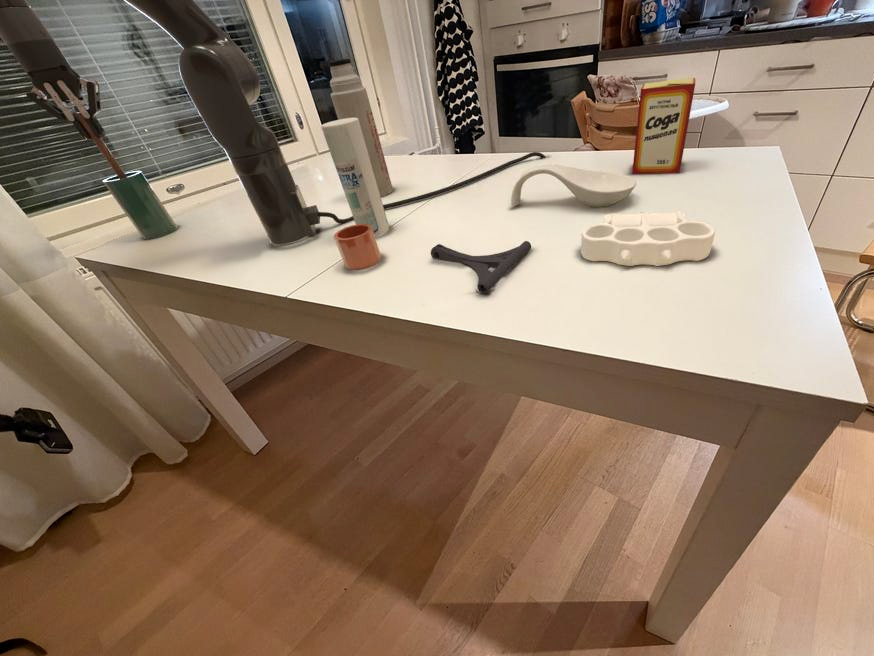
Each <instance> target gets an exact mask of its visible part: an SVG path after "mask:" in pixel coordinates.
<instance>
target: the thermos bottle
mask: <svg viewBox="0 0 874 656" xmlns="http://www.w3.org/2000/svg"><path fill="white" fill-rule="evenodd" d="M327 66H328V68H330V74H331V79H330V81H329V84H330V85H329V87H330V88H331V90H332V92H331V93H330V98H331V101H332V104H333V107H334V111H335V113H336V117H337V120H340V119H346V118H358V120H359V123H360V126H361V130H362V133H363V137H364V140H365V144H366V147H367V151H368V154H369V158H370V161H371V165H372V168H373V172H374V175H375V179H376V183H377V186H378V190H379V193H380V197H381V198H382V197H384V196H388V195H390V194H391V193H392V192H393V191H394V189H393V184H392V181H391V177H390V173H389V171H388V166H387V162H386V158H385V154H384V151H383V147H382V142H381V140H380V136H379V133H378V129H377V125H376V121H375V118H374V114H373V110H372V106H371V102H370V98H369V96H368V95H369V94H368V91H367V88H366V87H364V86H363V85H362V80H361V78H360V76H359V75H358V74H356V73H355V71H354V67H353V66H352V61H351V58H340V59H339V58H338V59H335V60H331V61H328V62H327Z"/></svg>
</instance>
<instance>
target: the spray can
mask: <svg viewBox="0 0 874 656" xmlns="http://www.w3.org/2000/svg"><path fill="white" fill-rule="evenodd" d="M320 127H321V130H322V133H323V136H324V139H325V142H326V145H327V147H328V150H329V153H330V156H331V159H332V161H333V164H334V167H335V170H336V173H337V176H338V178H339V182H340V184H341V187H342V191H343V192H344V196H345V199H346V201H347V204H348V207H349V209H350V212H351V214H352V216H353V218H354V220H353V221H354V223H355V224H354V225H356V224H368V225H371V226H372V229H373V232H374V235H375V237H376V236H379V235H382V234H384V233H386V232H388V230H389V229H390V225H389V222H388V218H387V214H386V211H385V209H384V207H383V205H384V203H383V200H382V197H380V193H379V190H378V186H377V183H376V179H375V175H374V172H373V168H372V165H371V161H370V158H369V154H368V151H367V147H366V144H365V140H364V137H363V133H362V130H361V126H360V123H359V120H358V118H346V119H340V120H338V119H336V120H332V121H328V122H326V123H325V122H324V123H323V124H321V126H320Z"/></svg>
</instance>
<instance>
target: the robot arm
mask: <svg viewBox="0 0 874 656" xmlns="http://www.w3.org/2000/svg"><path fill="white" fill-rule="evenodd" d="M123 1H124V2H126V3H127V4H128V5H130V6H131V7H132V8H134V9H136V10H137V11H139V12H140V14H142V15H144V16H145V17H147V18H148V19H150V20H151V21H152V22H153V23H155V24H157V25H158V26H159V27H160V28H161V29H163V31H165V32H166V33H167V34H168V35H169V36H170V37H171V38H172V39H173V40H174V41H175V42H176V43H177V44H178V45H179V47H181V49H182V50H181V52H180V54H179V57H178V69H179V74H180V79H181V80H182V83H183V85H184V87H185V90H186V92H187V93H188V96H189V97H190V99H191V101H192V103H193V105H194V107H195V108H196V110H197V112H198V114H199V116H200V118H201V119H202V121H203V123H204V125H205V126H206V128H207V130H208V132H209V133H210V135H211V137H212V138H213V139H214V140H215V142H216V143H217V144H218V145H219V146H220V147H221V148H222V149H223V151H224V152H225V155H226V156H227V157H228V160H229V162H230V163H231V166H232V168H233V169H234V172H235V174H236V176H237V178H238V179H239V182H240V184H241V185H242V188H243V189H244V191H245V193H246V196H247V197H248V200H249V202H250V204H251V205H252V207H253V209H254V212H255V213H256V216H257V217H258V219H259V222H260V224H261V225H262V227H263V229H264V231H265V233H266V235H267V237H268V239H269V242H270V244H271V246H273V247H287V246H292V245H296V244H299V243H301V242H304V241H306V240H308V239H311V238H314V237H315V236H316V234H317V226H316V225H319V224H321V218H323V217H324V218H331V219H333V221H334V222H335V223H337V224H340V225H341V224H346V223H350V222H352V221H354V218H353V215H352V216H350V217H347V218H339V217H338V216H337V215H336V214H335V213H332V212H328V211H320V210H319V208H318V206H317V205H316V204H314V205H311V206H307V203H306V200H305V198H304V196H303V194H302V191H301V189H300V187H299V185H298V184H297V183H296V182H295V180H294V177H293V175H292V172H291V171H290V167H289V166H288V164H287V161H286V158H285V156H284V153H283V152H282V151H283V150H282V149H281V147H280V144H279V142H278V140H277V139H278V138H277V137H276V135H275V133H274V131H273V130H272V129H270V128H269V127H266V126H264V125H262V123H260V122H259V120H258V119H257V118H256V115H255V113H254V111H253V110H252V108H251V106H250V105H252V104H253V103H255V102H256V101H257V100H258V99H259V96H260V94H261V82H260V78H259V74H258V72H257V70H256V68H255V66H254V64H253V63H252V62H251V60H250V58H249V57H248V55H246V53H244V51H243V50H242V49H241V48H240V47H239V46H238V45H237V43H235V42H234V41H233V39H231V38H230V37H229V35H227V34H226V33H225V32H224V30H223V29H221V27H220V26H219V25H218V24H216V23H215V21H214V20H213V19H212V18H211V17H210V16H209V15H207V13H206V12H205V11H204V10H203V9H202V8H201V7H200V6H199V5H198V3H196V2H195V1H194V0H123ZM0 39H1V41H2V42H3V43H4V44H5V45H6V47H7V48H8V50H9V51H10V52H11V54H12V55H13V56H14V58H15V60H16V61H17V62H18V63H19V65H20V66H21V67H22V70H24V71H25V73H27V75H28V76H29V78H30V81H31V84H32V86H33V87H32V89H31V90H30V92H26V93H25V96H26V98H27V99H29V100H30V101H32V102H33V103H34V104H36V105H38V106H39V107H40V108H42V109H44V111H46V112H47V113H49V114H51V115H52V116H54V117H55V118H56V119H57V120H65V121H69V122H70V123H72V125H73V126H74V127H75V129H76V130H77V132H78V133H79V135H80V136H81V137H82V138H84V139H86V140H87V141H93V140H92V138H91V137H90V135H89V134H88V133H87V131H86V130H85V128H84V127H83V125H82V124H81V122H80V121H79V120H78V118H77V117H76V115H75V114H74V113H78V112H77V111H76V109H75V107H76V108H77V110H78V111H79V112H81V113H82V115H83V116H84V117H85V118H86V119H85V120H86V122H87V123H88V125H89V126H90V128H91V129H92V130H93V132H94V133H95V135H96V136H97V137H98V138H101V139H102V138H105V137H106V135H105V134H106V131H105V129H104V127H103V126H102V124H101V123H100V121H99V120H98V118H97V115H98V114H99V113H101V112H102V102H101V92H100V83H98V82H97V81H96V80H89V79H86V78H83V77H81V75H80V74H78V72H76V71H75V70H74V69H73V67H72V65H71V64H70V62H69V61H68V59H67V58H66V56H65V54H64V52H62V50H61V48H60V47H59V45H58V44H57V42H56V41H55V39H54V38H53V36H52V34H51V33H50V32H49V30H48V29H47V27H46V25H45V24H44V23H43V22H42V20H41V19H40V18H39V16H38V15H37V14H36V12H35V11H34V10H33V8H32V7H31V5H30V4H29V2H28V1H27V0H0ZM83 89H84V91H86V93H87V94H86V95H87V99H86V98H85V96H84V95H83ZM47 97H49V98H50V99H52V100H53V101H54V103H55V104H54V103H53V102H52V101H50V100H49V99H48V98H47ZM532 157H539V158H541V159H546V158H547V156H546V155H545V154H543V153H541V152H539V151H533V152H529V153H527V154H525V155H523V156H521V157H519V158H518V157H517V158H515V159H512V160H509V161H507V162H504V163H503V164H500V165H498V166H495V167H494V168H491V169H489V170H487V171H484V172H482V173H479V174H477V175H475V176H472V177H470V178H467V179H465V180H463V181H460V182H457V183H454V184H451V185H449V186H446V187H442V188H440V189H437V190H434V191H430V192H427V193H424V194H420V195H416V196H412V197H410V198H409V197H408V198H405V199H402V200H397V201H393V202H389V203H386V204H383V207H384V210H386V209H387V210H388V209H391V208H395V207H399V206H403V205H407V204H411V203H415V202H419V201H422V200H425V199H428V198H432V197H436V196H438V195H441V194H444V193H448V192H450V191H452V190H456V189H458V188H461V187H464V186H466V185H468V184H471V183H474V182H476V181H479V180H480V179H483V178H485V177H487V176H490V175H492V174H494V173H497V172H499V171H501V170H503V169H506V168H507V167H510V166H512V165H516V164H518V163H521V162H524V161H525V160H527V159H531V158H532Z"/></svg>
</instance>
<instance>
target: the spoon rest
mask: <svg viewBox="0 0 874 656" xmlns="http://www.w3.org/2000/svg"><path fill="white" fill-rule="evenodd" d="M540 174H541V175H542V174H545V175H550V176H552V177H554V178H556V179H557V180H559V181H560V182H561V183H562V184H563V185H564V186H565V187H566V188H567V189H568V190H569V191H570V192H571V193H572V195H574V196H575V198H577V199H578V200H579V201H581V202H582V203H583V204H584V205H586V206H589V207H594V208H603V207H608V206H611V205H614V204H616V203H619V202H620V201H622V200H624V199H625V198H627V197H628V196H629V195H630V194H631V193H632V192H633V190H635V188H636V185H637V181H636V180H635V179H634V178H633V177H631V176H629V175H626V174H622V173H617V172H610V171H601V170H592V169H591V170H590V169H585V168H579V167H573V166H568V165H563V164H556V163H541V164H537V165H534V166H532V167H529V168H528V169H527V170H525V171H524V172H523V173H522V174H521V175H520V177H519V178H518V179H517V181H516V182H515V185H514V186H513V189H512V193H511V197H510V204H511V207H516V206H517V205H518V204H519V203H520V201H521V197H522V189H523V185H524V184H525V183H526V181H527V180H529V179H531V178H532V177H534V176H536V175H540Z"/></svg>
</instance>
